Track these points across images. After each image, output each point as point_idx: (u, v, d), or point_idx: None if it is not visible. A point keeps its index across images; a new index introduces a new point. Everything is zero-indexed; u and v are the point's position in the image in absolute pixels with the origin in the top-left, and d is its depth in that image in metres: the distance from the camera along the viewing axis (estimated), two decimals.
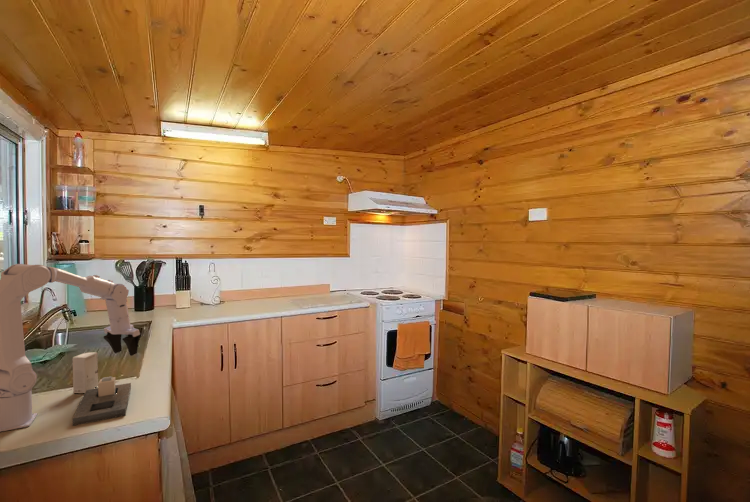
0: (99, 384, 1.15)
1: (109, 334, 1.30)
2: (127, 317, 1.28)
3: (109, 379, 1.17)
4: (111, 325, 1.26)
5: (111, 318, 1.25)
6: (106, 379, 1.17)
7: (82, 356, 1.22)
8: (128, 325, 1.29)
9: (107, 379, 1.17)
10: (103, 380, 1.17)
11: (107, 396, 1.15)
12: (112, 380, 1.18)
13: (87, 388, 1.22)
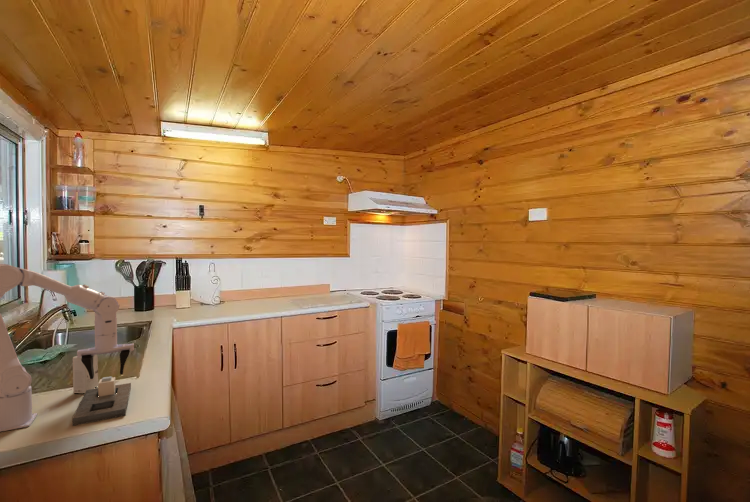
0: (99, 384, 1.15)
1: (86, 357, 1.14)
2: None
3: (109, 379, 1.17)
4: (103, 342, 1.15)
5: (95, 333, 1.15)
6: (106, 379, 1.17)
7: None
8: None
9: (107, 379, 1.17)
10: (103, 380, 1.17)
11: (107, 396, 1.15)
12: (112, 380, 1.18)
13: (87, 388, 1.22)
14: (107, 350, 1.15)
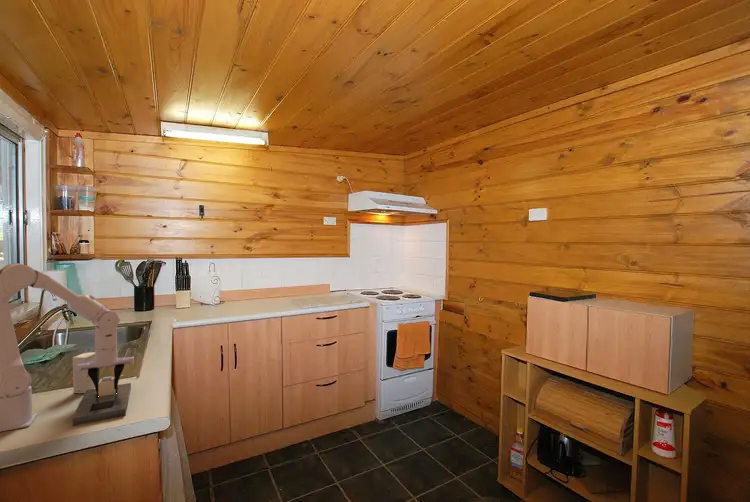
0: (99, 384, 1.15)
1: None
2: None
3: (109, 379, 1.17)
4: (103, 356, 1.15)
5: (96, 347, 1.15)
6: (106, 379, 1.17)
7: (82, 356, 1.22)
8: None
9: (107, 379, 1.17)
10: (103, 380, 1.17)
11: (107, 396, 1.15)
12: (112, 380, 1.18)
13: (87, 388, 1.22)
14: (107, 364, 1.15)
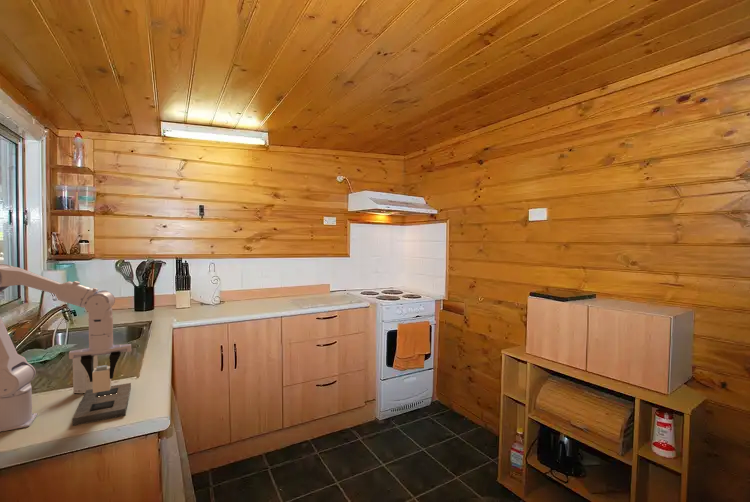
0: (93, 373, 1.06)
1: None
2: None
3: (104, 368, 1.08)
4: (98, 342, 1.05)
5: (89, 332, 1.06)
6: (101, 368, 1.08)
7: None
8: None
9: (102, 368, 1.08)
10: (98, 369, 1.07)
11: (107, 396, 1.15)
12: (108, 369, 1.08)
13: (87, 388, 1.22)
14: (102, 351, 1.06)
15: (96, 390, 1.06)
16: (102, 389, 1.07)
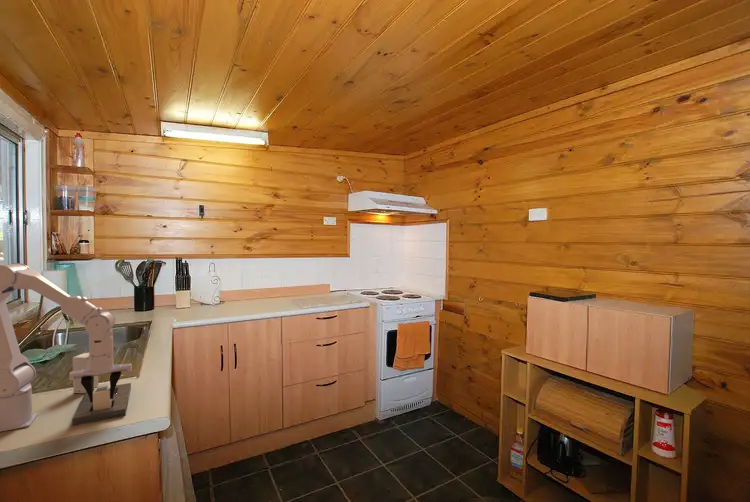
0: (94, 394, 1.06)
1: (81, 379, 1.05)
2: None
3: (105, 388, 1.08)
4: (98, 363, 1.05)
5: (89, 353, 1.06)
6: (101, 388, 1.08)
7: (82, 356, 1.22)
8: None
9: (102, 388, 1.08)
10: (98, 389, 1.07)
11: None
12: (108, 389, 1.08)
13: None
14: (102, 372, 1.06)
15: None
16: None
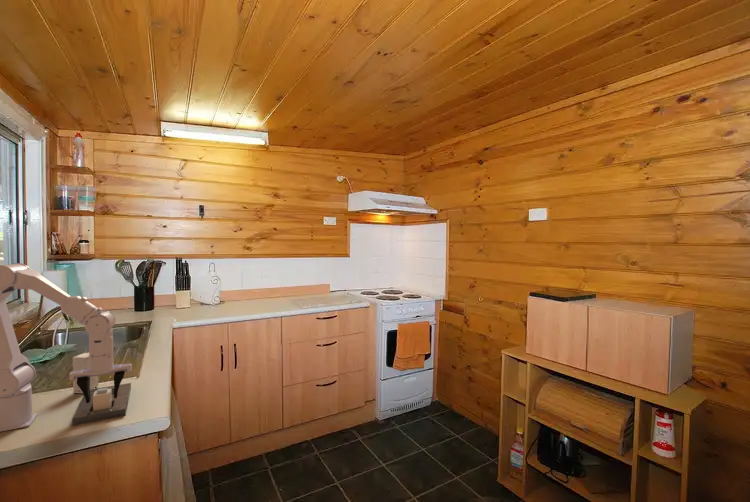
0: (94, 397, 1.06)
1: (80, 379, 1.05)
2: None
3: (105, 391, 1.08)
4: (98, 363, 1.05)
5: (89, 353, 1.06)
6: (101, 391, 1.08)
7: (82, 356, 1.22)
8: (113, 362, 1.10)
9: (103, 391, 1.08)
10: (98, 392, 1.07)
11: None
12: (108, 392, 1.08)
13: None
14: (102, 372, 1.06)
15: None
16: None
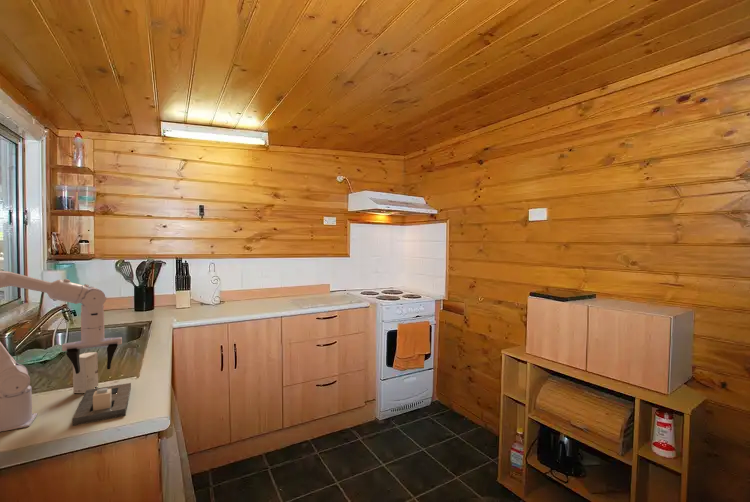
0: (94, 397, 1.06)
1: (72, 350, 1.10)
2: None
3: (105, 391, 1.08)
4: (89, 335, 1.11)
5: (81, 326, 1.11)
6: (101, 391, 1.08)
7: (82, 356, 1.22)
8: None
9: (102, 391, 1.08)
10: (98, 392, 1.07)
11: None
12: (108, 392, 1.08)
13: (87, 388, 1.22)
14: (93, 344, 1.11)
15: None
16: None
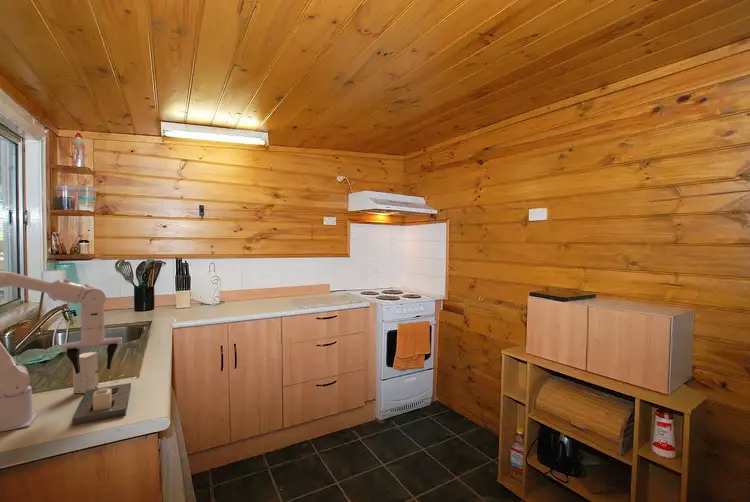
0: (94, 397, 1.06)
1: (72, 350, 1.10)
2: None
3: (105, 391, 1.08)
4: (89, 335, 1.11)
5: (81, 326, 1.11)
6: (101, 391, 1.08)
7: (82, 356, 1.22)
8: None
9: (102, 391, 1.08)
10: (98, 392, 1.07)
11: None
12: (108, 392, 1.08)
13: (87, 388, 1.22)
14: (93, 344, 1.11)
15: None
16: None
